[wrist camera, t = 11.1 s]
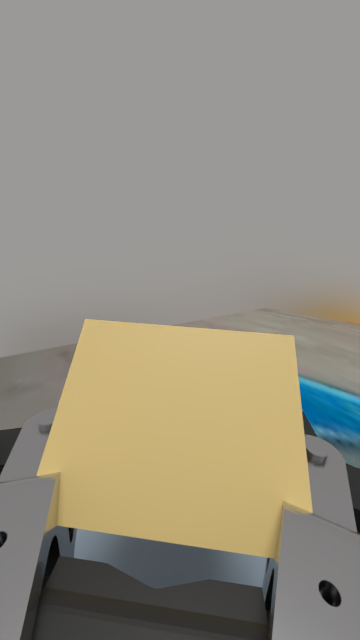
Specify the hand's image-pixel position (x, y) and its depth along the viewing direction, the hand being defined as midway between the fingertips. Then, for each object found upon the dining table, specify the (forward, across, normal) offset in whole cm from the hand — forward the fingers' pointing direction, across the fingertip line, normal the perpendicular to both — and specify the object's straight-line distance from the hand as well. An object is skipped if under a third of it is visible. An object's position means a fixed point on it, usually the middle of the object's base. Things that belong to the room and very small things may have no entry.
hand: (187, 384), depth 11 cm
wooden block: (+2, 0, +4) cm, 5 cm away
